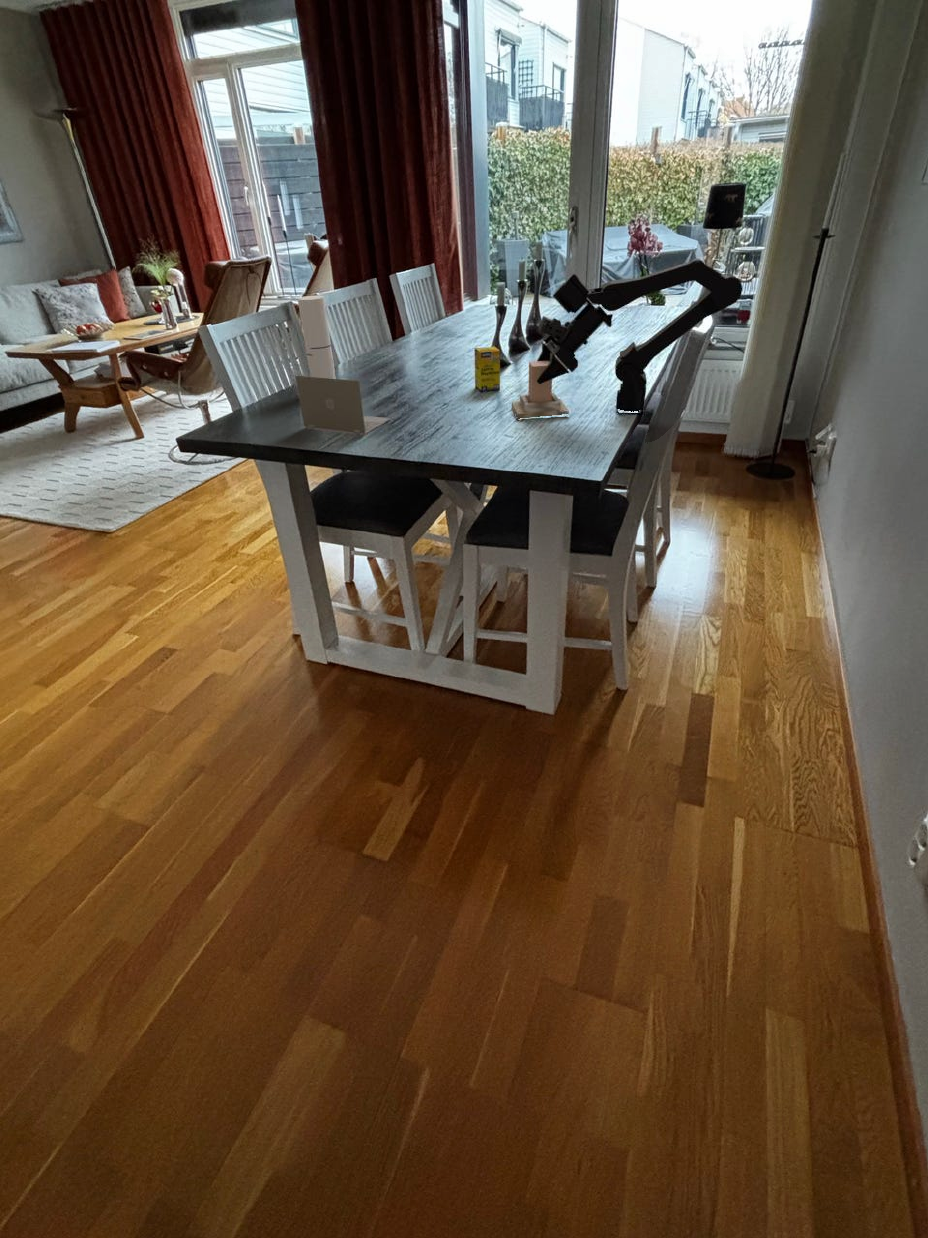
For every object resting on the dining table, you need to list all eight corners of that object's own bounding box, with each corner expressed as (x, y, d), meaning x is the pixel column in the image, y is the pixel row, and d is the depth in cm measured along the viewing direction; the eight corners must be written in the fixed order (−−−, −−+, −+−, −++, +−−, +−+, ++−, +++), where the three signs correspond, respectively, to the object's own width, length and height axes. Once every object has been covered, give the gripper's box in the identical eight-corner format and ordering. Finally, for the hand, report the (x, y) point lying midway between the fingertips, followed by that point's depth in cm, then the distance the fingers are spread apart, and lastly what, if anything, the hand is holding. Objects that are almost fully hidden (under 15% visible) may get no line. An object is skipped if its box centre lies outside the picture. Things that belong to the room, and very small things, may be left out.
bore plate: (560, 404, 169) (560, 390, 167) (568, 417, 160) (569, 402, 158) (511, 407, 169) (511, 393, 167) (517, 420, 160) (517, 405, 158)
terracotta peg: (547, 408, 167) (548, 360, 160) (550, 414, 163) (552, 365, 156) (528, 409, 166) (529, 361, 160) (531, 415, 162) (532, 366, 156)
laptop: (390, 421, 164) (385, 368, 156) (365, 436, 154) (358, 381, 147) (331, 414, 170) (324, 363, 163) (304, 429, 161) (294, 375, 153)
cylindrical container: (332, 394, 185) (317, 299, 171) (309, 394, 187) (293, 299, 172) (340, 387, 191) (327, 295, 177) (318, 387, 192) (303, 295, 178)
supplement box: (480, 392, 181) (479, 352, 175) (474, 387, 186) (473, 347, 180) (500, 390, 183) (500, 350, 176) (494, 385, 187) (493, 345, 181)
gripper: (552, 297, 158) (507, 347, 164) (567, 309, 143) (517, 364, 148) (581, 329, 163) (537, 377, 169) (599, 345, 147) (549, 396, 153)
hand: (534, 378), depth 160 cm, fingers open, 9 cm apart
